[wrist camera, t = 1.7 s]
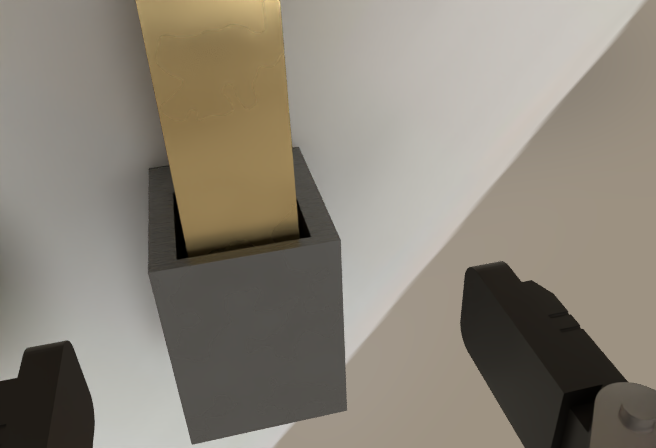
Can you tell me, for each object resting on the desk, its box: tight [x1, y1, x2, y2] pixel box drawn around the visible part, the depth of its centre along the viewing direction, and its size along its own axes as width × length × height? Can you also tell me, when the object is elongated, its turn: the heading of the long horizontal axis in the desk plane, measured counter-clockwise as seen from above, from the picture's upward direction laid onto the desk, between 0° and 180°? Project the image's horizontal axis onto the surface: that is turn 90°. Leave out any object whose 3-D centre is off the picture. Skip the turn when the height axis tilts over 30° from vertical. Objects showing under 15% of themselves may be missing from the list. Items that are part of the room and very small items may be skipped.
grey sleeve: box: [148, 147, 347, 444], centre depth 29 cm, size 7×10×8 cm
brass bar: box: [136, 0, 299, 258], centre depth 24 cm, size 4×21×4 cm, turn 3°
